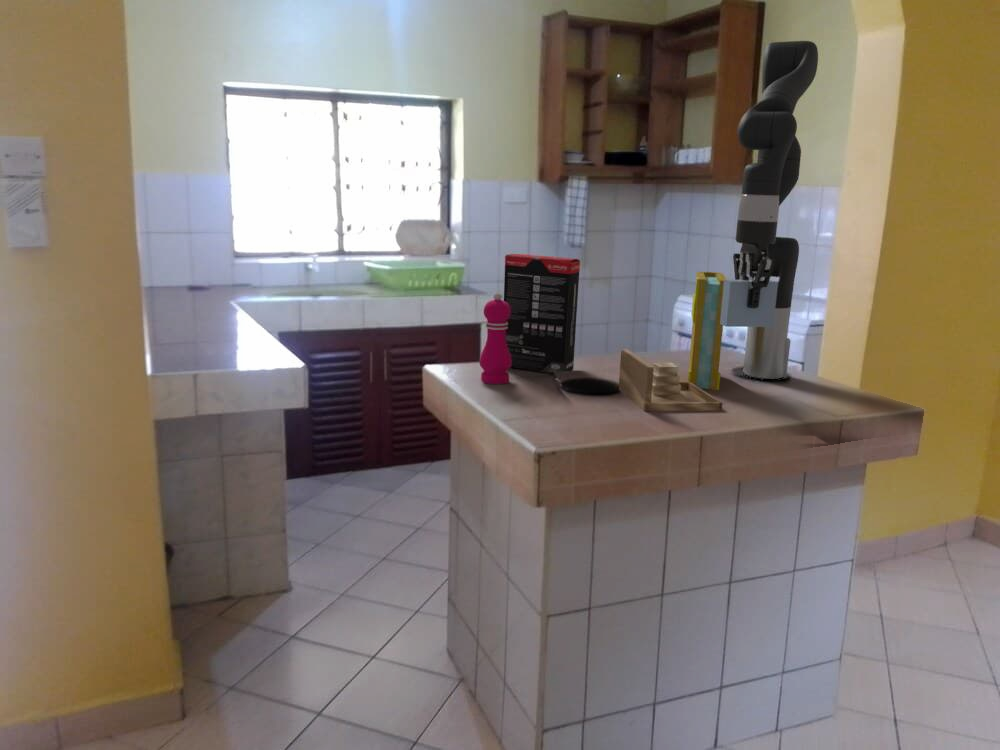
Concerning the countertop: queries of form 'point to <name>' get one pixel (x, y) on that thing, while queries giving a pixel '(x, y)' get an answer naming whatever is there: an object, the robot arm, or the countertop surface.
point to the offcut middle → (665, 380)
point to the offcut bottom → (666, 389)
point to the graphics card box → (541, 311)
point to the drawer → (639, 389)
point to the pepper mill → (496, 342)
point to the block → (736, 305)
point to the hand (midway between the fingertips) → (748, 306)
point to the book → (706, 331)
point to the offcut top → (665, 369)
